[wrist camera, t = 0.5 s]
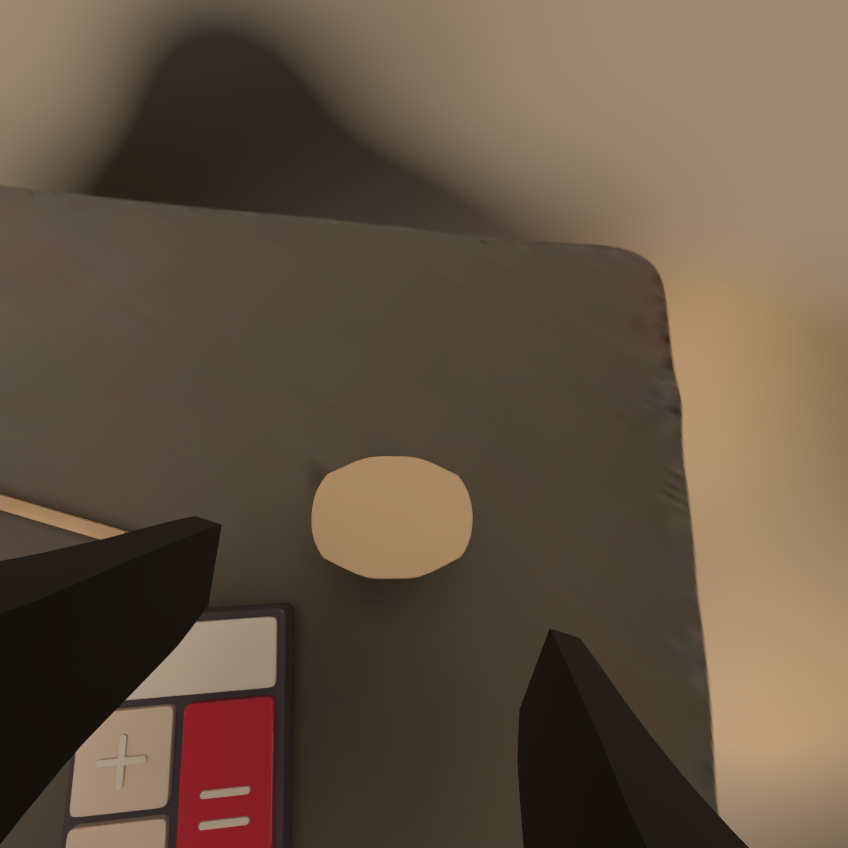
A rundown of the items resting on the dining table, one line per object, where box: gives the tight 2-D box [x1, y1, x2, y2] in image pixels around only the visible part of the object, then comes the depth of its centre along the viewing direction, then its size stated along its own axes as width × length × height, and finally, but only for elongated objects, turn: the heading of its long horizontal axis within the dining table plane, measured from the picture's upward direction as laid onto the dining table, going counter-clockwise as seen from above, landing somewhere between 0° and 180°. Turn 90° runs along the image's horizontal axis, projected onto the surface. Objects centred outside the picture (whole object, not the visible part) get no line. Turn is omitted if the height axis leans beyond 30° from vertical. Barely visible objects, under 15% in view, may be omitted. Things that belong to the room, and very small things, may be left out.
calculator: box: [62, 603, 294, 848], centre depth 28 cm, size 11×4×15 cm
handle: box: [312, 456, 472, 579], centre depth 27 cm, size 5×6×15 cm
